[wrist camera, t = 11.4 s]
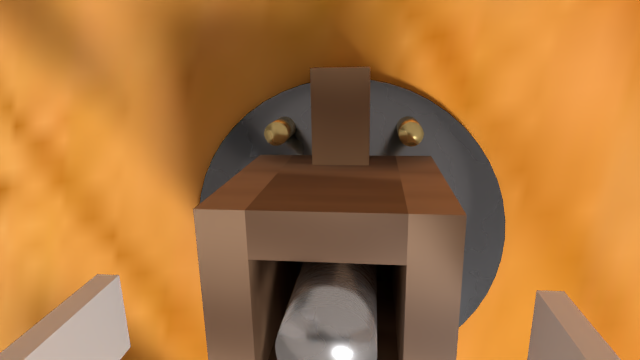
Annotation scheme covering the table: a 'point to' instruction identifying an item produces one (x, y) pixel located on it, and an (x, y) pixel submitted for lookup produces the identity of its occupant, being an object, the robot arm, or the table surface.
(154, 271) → the table surface
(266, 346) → the collar
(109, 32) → the table surface
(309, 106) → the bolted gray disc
